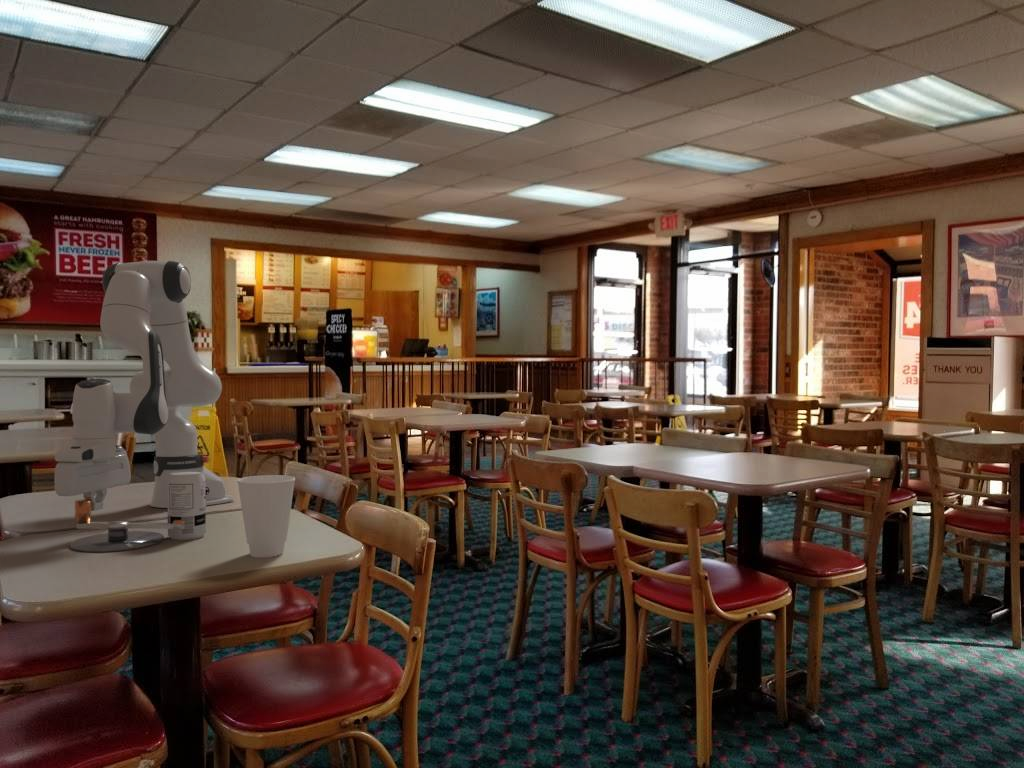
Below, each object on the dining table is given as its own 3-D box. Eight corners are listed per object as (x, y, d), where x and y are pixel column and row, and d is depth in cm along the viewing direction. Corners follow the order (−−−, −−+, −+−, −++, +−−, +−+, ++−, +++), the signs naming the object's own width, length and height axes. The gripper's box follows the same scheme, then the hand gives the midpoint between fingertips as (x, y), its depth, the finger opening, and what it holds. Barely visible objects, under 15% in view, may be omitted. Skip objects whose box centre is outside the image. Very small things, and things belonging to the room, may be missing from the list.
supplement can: (161, 537, 188) (161, 473, 188) (196, 531, 195) (195, 469, 194) (177, 542, 183) (176, 476, 183) (212, 536, 189) (211, 472, 189)
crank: (187, 526, 184) (187, 499, 184) (178, 530, 180) (178, 502, 180) (81, 525, 185) (81, 498, 185) (70, 529, 181) (70, 502, 181)
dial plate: (149, 530, 196) (148, 518, 196) (175, 543, 182) (175, 530, 182) (61, 541, 184) (61, 528, 184) (82, 556, 169) (82, 542, 169)
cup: (240, 562, 164) (239, 484, 164) (235, 550, 175) (234, 476, 175) (300, 557, 169) (299, 480, 169) (291, 545, 180) (291, 473, 180)
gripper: (114, 445, 197) (115, 501, 197) (48, 454, 177) (49, 517, 177) (137, 445, 195) (137, 502, 196) (73, 455, 175) (73, 518, 176)
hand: (95, 509), depth 186 cm, fingers closed
